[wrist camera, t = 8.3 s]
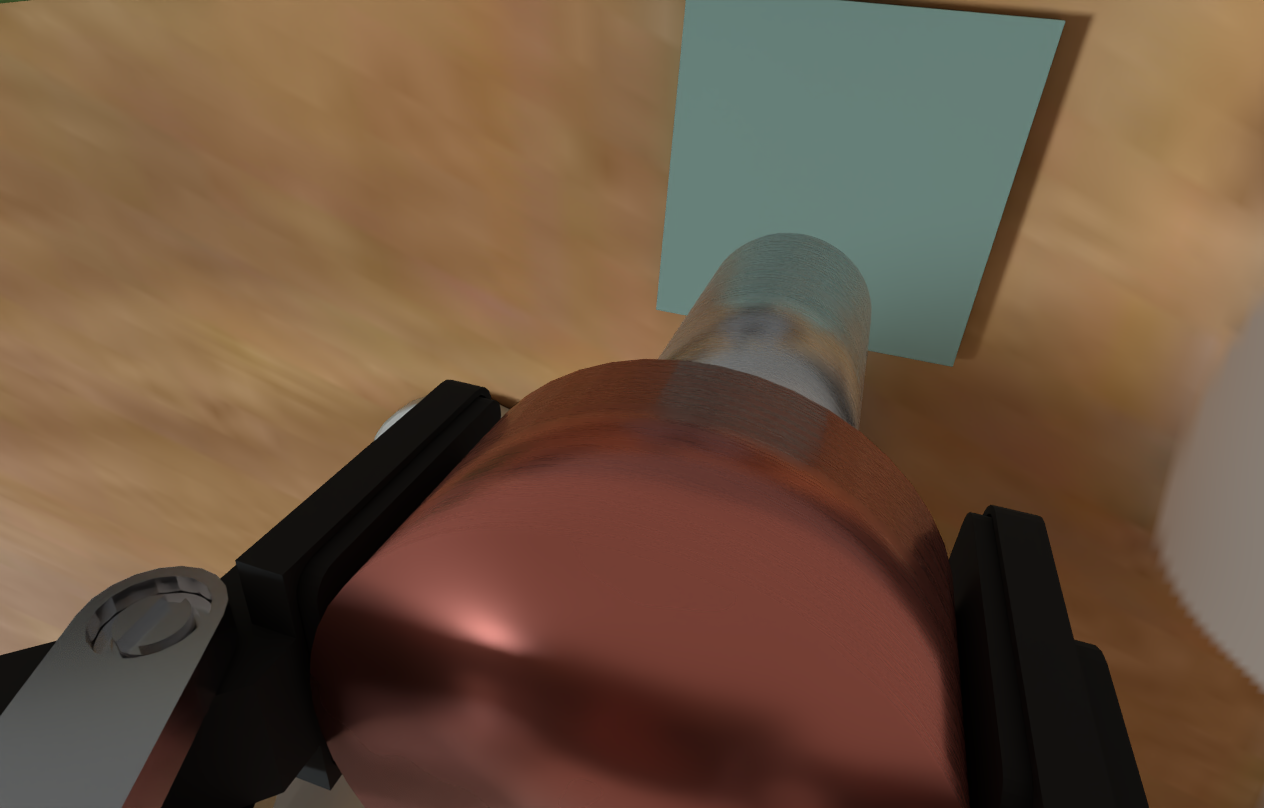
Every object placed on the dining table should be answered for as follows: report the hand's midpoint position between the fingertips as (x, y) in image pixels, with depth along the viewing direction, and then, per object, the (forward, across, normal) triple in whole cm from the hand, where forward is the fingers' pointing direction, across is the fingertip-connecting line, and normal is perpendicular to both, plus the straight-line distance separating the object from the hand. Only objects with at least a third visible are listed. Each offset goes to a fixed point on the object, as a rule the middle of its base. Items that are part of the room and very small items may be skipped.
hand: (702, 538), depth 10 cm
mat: (+22, 0, 0) cm, 22 cm away
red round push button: (+8, 0, 0) cm, 8 cm away
